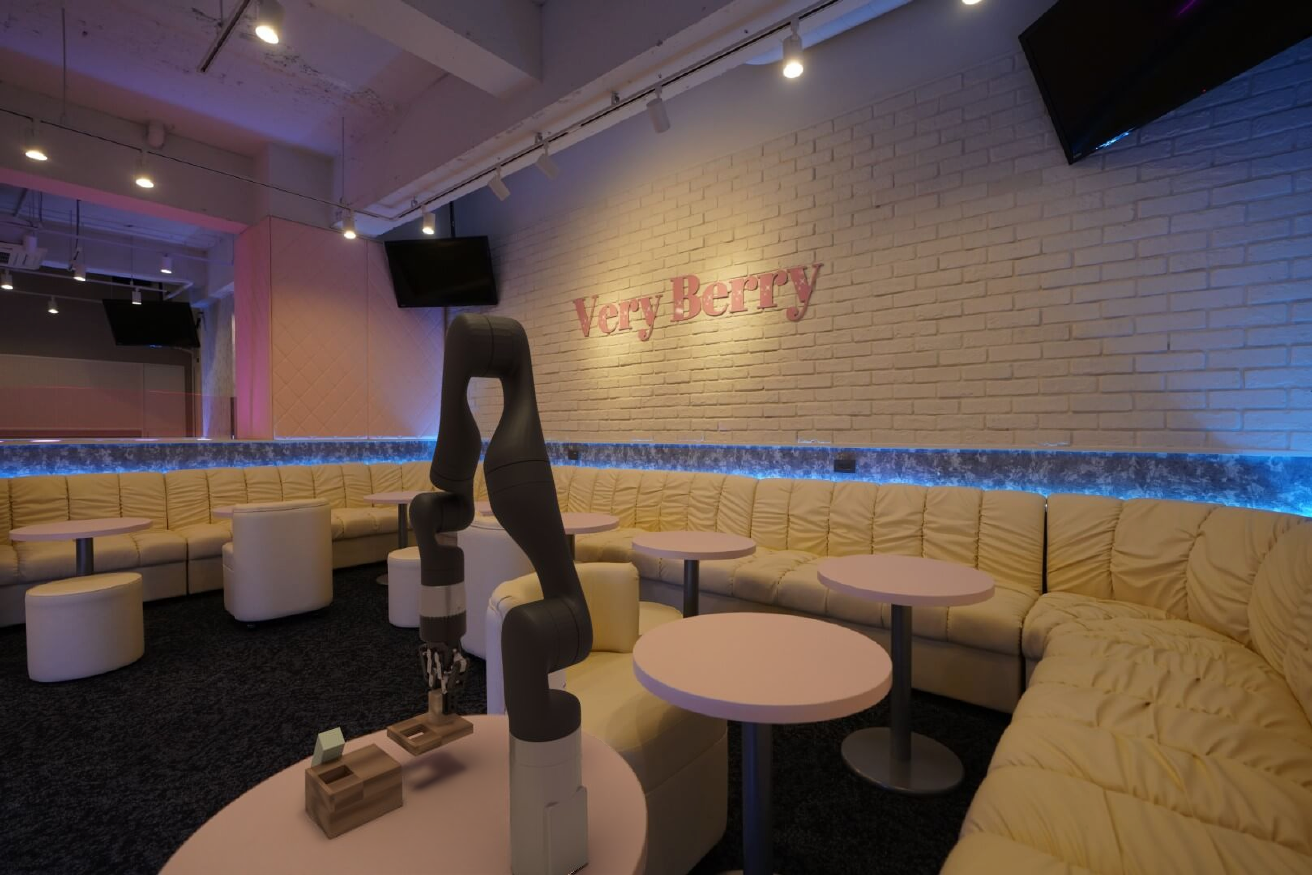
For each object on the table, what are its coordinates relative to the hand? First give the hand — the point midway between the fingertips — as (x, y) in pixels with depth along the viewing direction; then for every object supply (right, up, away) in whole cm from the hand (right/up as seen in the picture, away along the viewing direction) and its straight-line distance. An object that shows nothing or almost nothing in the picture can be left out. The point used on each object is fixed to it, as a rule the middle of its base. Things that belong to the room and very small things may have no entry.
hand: (444, 709), depth 99 cm
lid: (-2, -3, -2) cm, 4 cm away
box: (-9, -9, -12) cm, 18 cm away
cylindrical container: (+17, -9, +1) cm, 19 cm away
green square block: (-14, 0, -10) cm, 17 cm away
